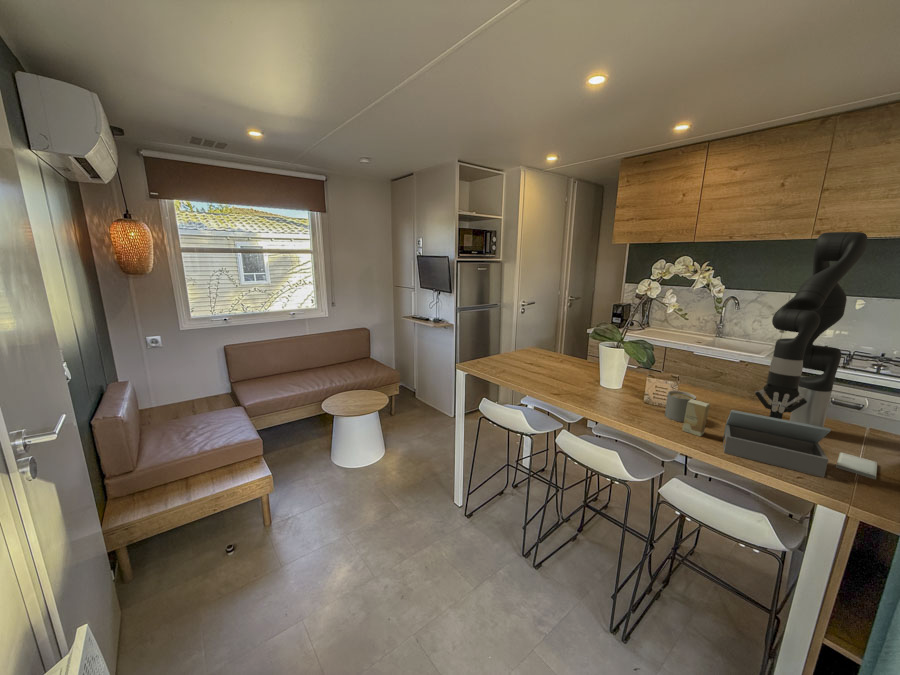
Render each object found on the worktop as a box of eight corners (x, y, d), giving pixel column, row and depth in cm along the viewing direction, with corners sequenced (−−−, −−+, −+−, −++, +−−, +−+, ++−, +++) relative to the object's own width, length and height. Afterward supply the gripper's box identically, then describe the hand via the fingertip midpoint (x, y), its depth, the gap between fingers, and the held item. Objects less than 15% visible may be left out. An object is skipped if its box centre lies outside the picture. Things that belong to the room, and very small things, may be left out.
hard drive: (876, 476, 105) (877, 461, 113) (836, 464, 112) (840, 451, 119) (875, 481, 106) (876, 466, 113) (835, 469, 112) (839, 455, 120)
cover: (726, 424, 128) (726, 421, 129) (817, 443, 115) (817, 439, 115) (731, 411, 119) (731, 408, 120) (830, 431, 106) (830, 427, 106)
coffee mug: (686, 424, 141) (690, 401, 139) (660, 416, 149) (663, 393, 147) (700, 416, 149) (703, 394, 147) (674, 408, 156) (677, 387, 154)
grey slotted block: (723, 439, 130) (725, 423, 128) (814, 460, 116) (818, 443, 115) (724, 452, 120) (727, 436, 119) (824, 477, 106) (828, 459, 105)
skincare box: (681, 430, 136) (686, 401, 133) (685, 427, 138) (690, 398, 136) (701, 437, 131) (706, 406, 128) (705, 433, 134) (710, 403, 131)
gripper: (811, 372, 112) (799, 423, 116) (756, 365, 120) (747, 413, 123) (816, 378, 106) (804, 431, 110) (759, 370, 114) (749, 420, 117)
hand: (774, 421), depth 117 cm, fingers closed
